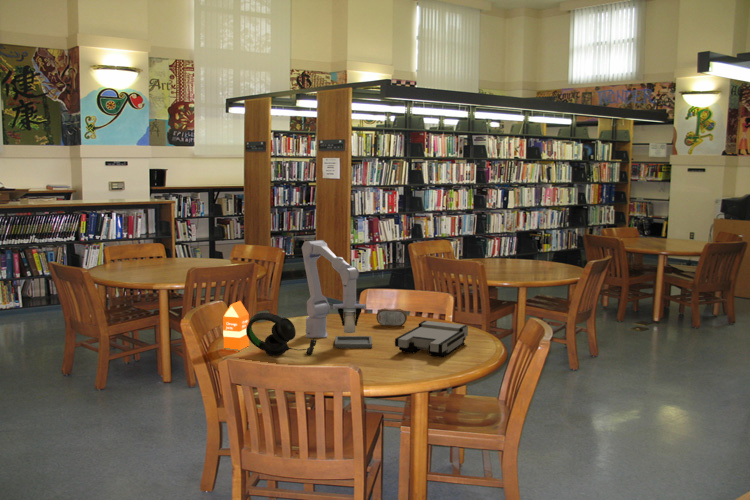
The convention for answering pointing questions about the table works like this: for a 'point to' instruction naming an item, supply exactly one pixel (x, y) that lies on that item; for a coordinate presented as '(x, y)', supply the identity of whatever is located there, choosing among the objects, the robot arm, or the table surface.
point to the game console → (433, 338)
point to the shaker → (349, 321)
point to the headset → (275, 335)
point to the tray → (353, 342)
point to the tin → (391, 317)
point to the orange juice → (235, 326)
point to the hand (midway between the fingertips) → (349, 325)
